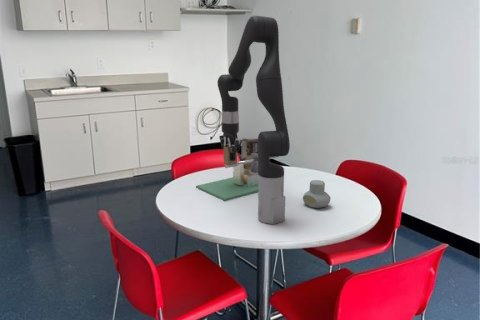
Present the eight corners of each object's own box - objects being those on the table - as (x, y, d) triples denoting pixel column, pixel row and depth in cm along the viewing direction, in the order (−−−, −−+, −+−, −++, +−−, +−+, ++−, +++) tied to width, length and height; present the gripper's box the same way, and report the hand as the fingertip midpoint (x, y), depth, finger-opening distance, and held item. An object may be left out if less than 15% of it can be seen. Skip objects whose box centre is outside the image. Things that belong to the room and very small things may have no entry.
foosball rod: (280, 175, 208) (281, 138, 203) (229, 188, 189) (229, 148, 184) (273, 173, 211) (274, 136, 207) (222, 185, 193) (222, 145, 188)
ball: (247, 174, 195) (243, 181, 194) (252, 178, 197) (248, 185, 196) (242, 172, 198) (237, 179, 197) (247, 176, 200) (242, 183, 199)
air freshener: (299, 204, 174) (300, 180, 172) (312, 199, 179) (313, 176, 177) (320, 212, 166) (321, 187, 163) (333, 207, 171) (335, 183, 169)
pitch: (267, 189, 192) (267, 187, 192) (224, 201, 178) (224, 198, 177) (237, 178, 209) (237, 176, 208) (196, 187, 194) (196, 185, 194)
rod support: (263, 183, 200) (263, 155, 197) (259, 184, 199) (260, 156, 195) (254, 180, 205) (254, 152, 202) (250, 181, 204) (251, 153, 200)
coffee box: (259, 168, 225) (260, 138, 221) (259, 171, 219) (259, 141, 215) (242, 168, 226) (242, 138, 222) (241, 171, 220) (241, 140, 215)
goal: (259, 184, 196) (259, 174, 194) (248, 187, 192) (248, 176, 190) (243, 178, 204) (243, 168, 203) (233, 181, 200) (233, 171, 199)
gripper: (247, 122, 182) (247, 161, 186) (227, 118, 192) (227, 155, 197) (233, 124, 177) (233, 164, 182) (213, 120, 188) (214, 158, 192)
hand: (230, 159), depth 189 cm, fingers closed on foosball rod, 3 cm apart
